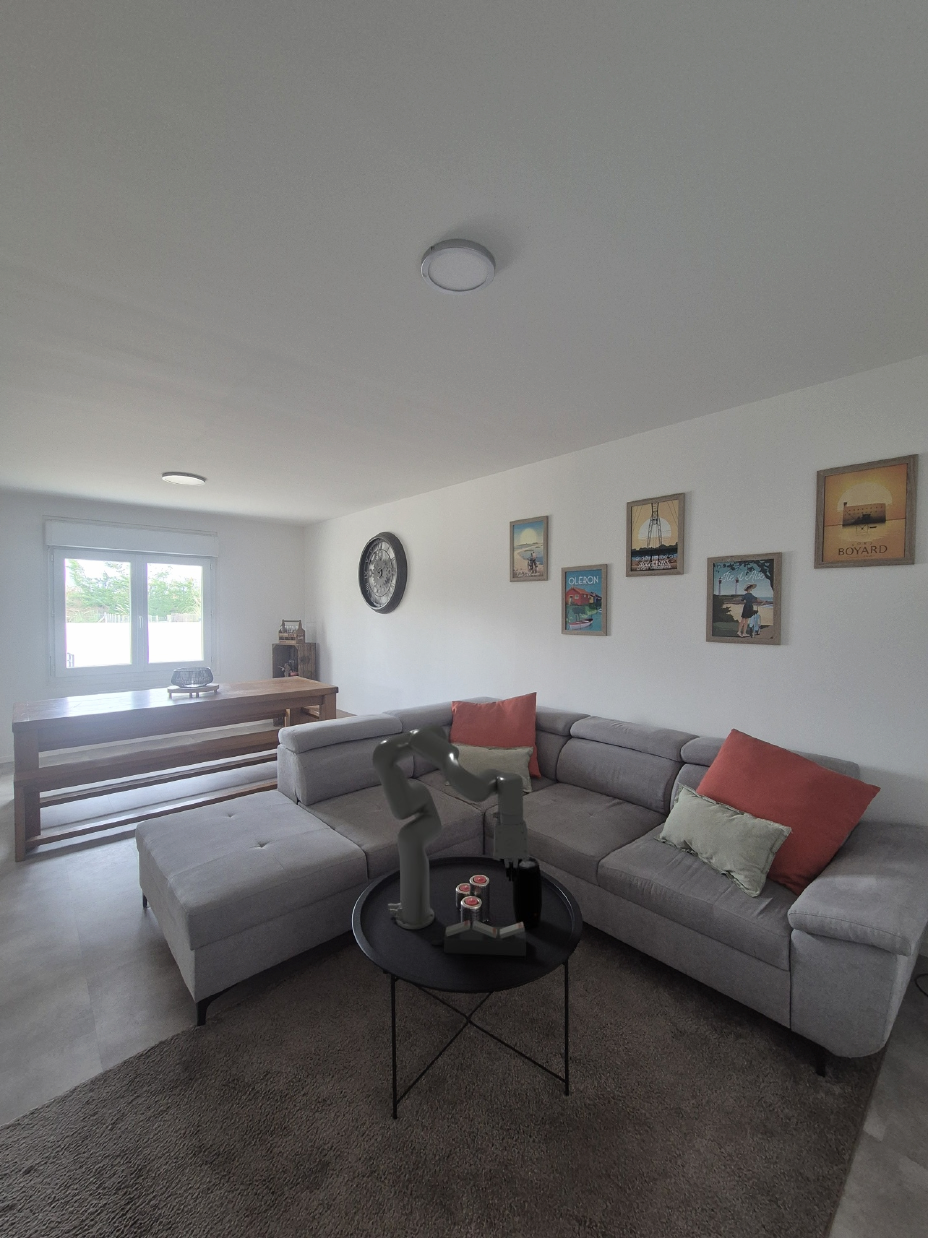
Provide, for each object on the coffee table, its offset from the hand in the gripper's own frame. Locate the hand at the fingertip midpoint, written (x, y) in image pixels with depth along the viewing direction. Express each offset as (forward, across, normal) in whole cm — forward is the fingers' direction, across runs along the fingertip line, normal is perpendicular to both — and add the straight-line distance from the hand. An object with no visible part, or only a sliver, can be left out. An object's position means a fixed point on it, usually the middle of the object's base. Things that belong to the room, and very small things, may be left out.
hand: (511, 879), depth 148 cm
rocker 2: (+15, -8, 0) cm, 17 cm away
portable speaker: (+21, +5, +15) cm, 26 cm away
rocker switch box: (+21, -10, +2) cm, 23 cm away
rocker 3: (+15, 0, 0) cm, 15 cm away
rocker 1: (+15, -16, 0) cm, 22 cm away
